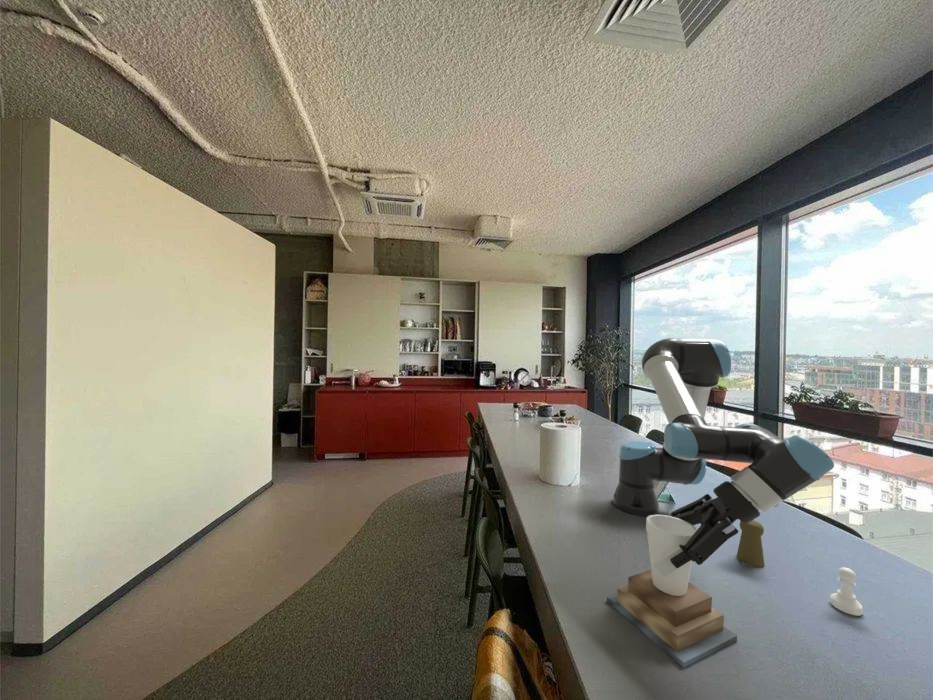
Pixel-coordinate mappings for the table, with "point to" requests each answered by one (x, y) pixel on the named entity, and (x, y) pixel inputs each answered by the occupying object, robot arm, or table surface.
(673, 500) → the table surface
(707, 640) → the stepped wooden pedestal
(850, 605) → the chess pawn
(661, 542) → the foam cup
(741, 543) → the cork
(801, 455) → the robot arm
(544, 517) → the table surface
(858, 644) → the table surface
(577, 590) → the table surface
